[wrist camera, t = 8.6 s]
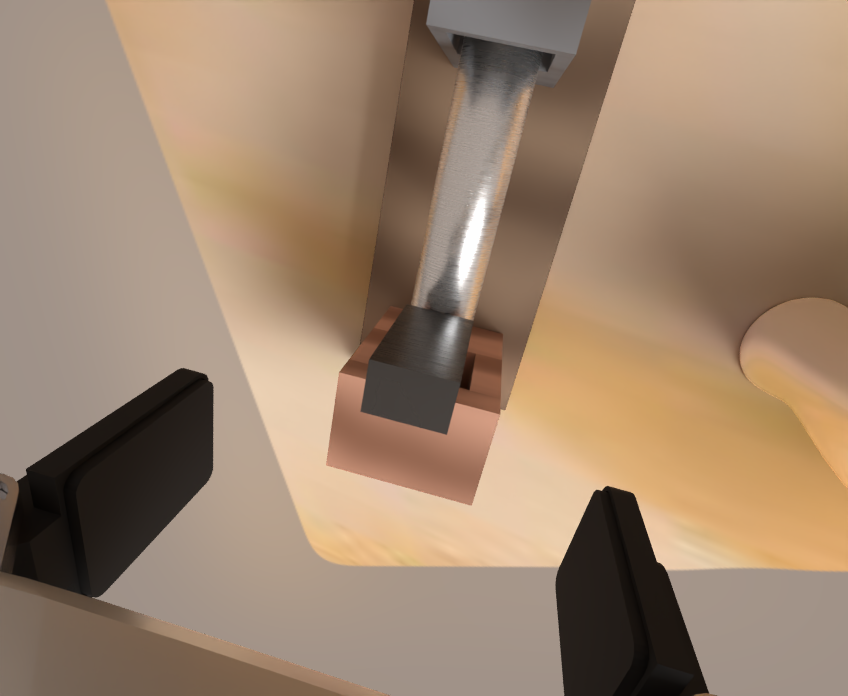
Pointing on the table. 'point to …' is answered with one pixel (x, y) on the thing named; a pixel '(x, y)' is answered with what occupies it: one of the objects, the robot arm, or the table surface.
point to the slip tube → (455, 239)
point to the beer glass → (805, 369)
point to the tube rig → (516, 234)
